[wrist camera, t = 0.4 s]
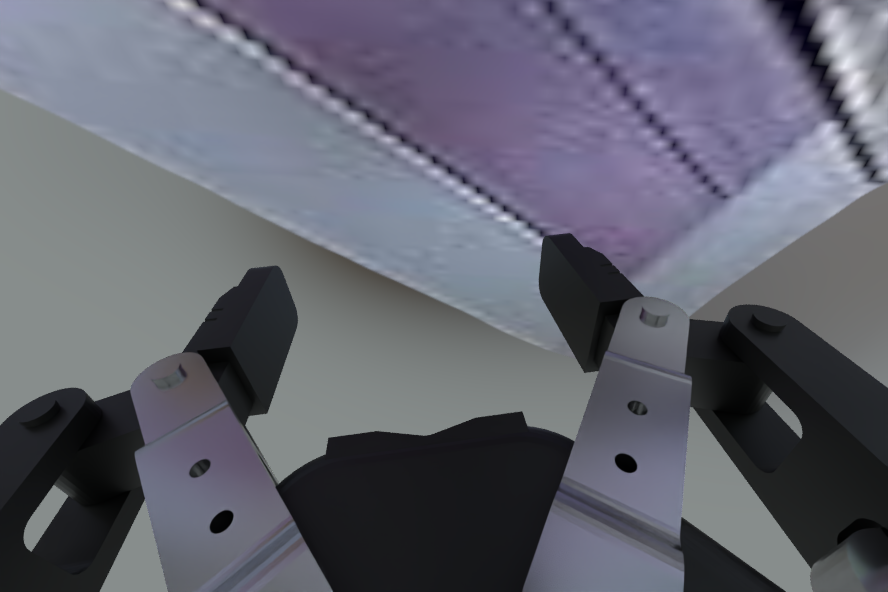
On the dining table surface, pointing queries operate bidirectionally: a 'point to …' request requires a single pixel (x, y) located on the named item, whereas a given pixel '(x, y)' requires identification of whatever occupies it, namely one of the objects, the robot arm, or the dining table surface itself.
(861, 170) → the dining table surface
